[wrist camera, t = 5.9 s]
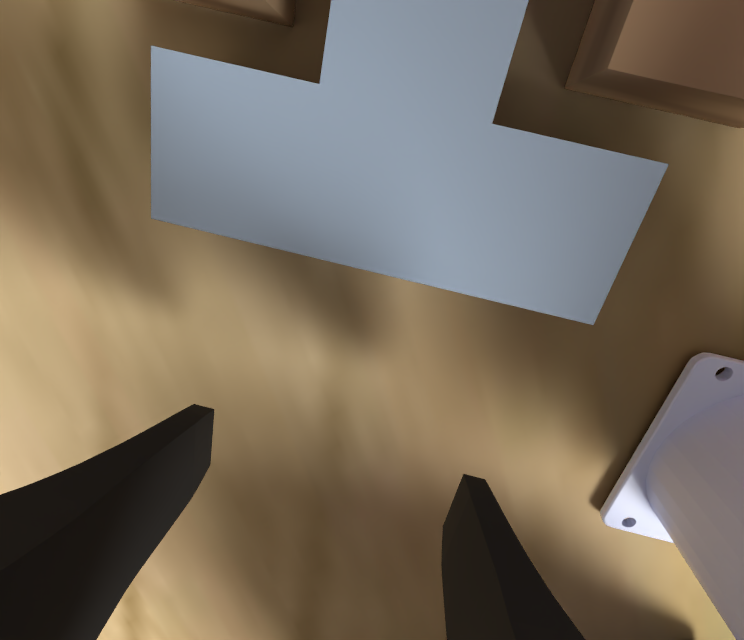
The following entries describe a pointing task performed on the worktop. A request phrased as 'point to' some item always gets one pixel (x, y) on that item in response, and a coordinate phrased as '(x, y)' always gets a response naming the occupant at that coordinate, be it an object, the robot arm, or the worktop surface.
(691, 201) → the worktop surface
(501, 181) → the T block
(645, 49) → the walnut slot
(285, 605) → the worktop surface
